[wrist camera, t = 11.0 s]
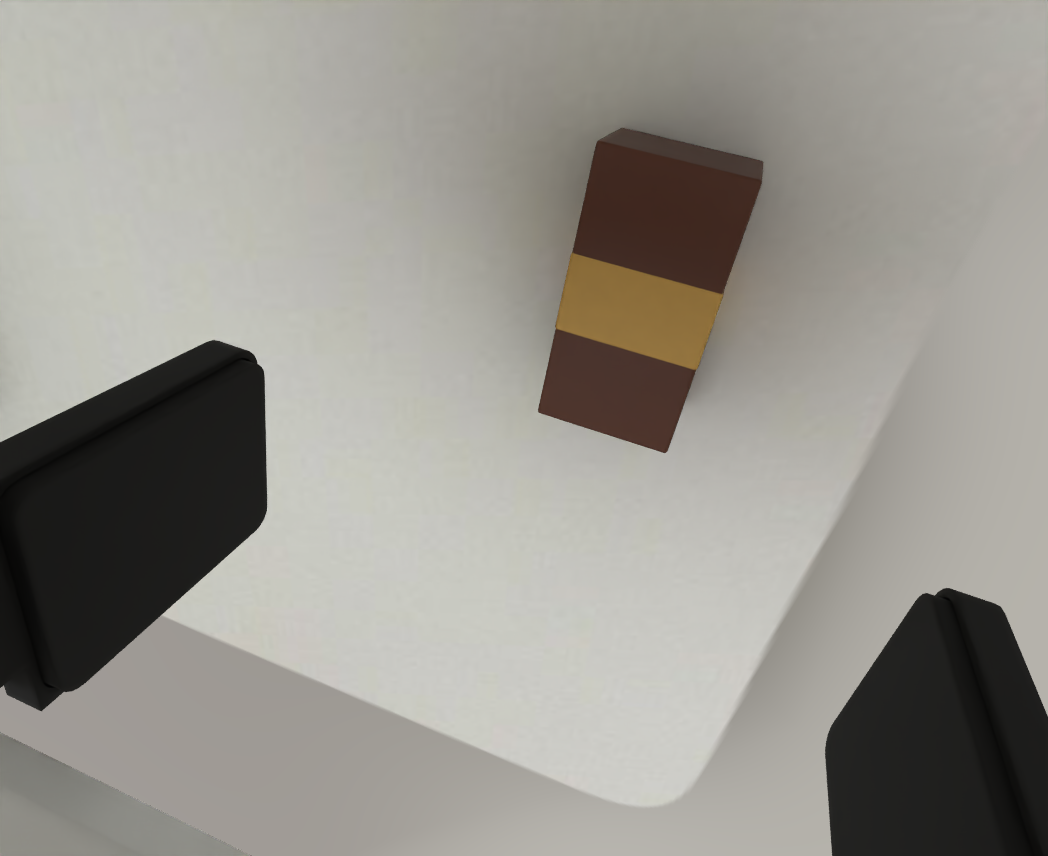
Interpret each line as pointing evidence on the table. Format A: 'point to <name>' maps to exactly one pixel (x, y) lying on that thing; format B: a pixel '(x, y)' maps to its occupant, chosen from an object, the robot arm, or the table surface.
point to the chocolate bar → (645, 283)
